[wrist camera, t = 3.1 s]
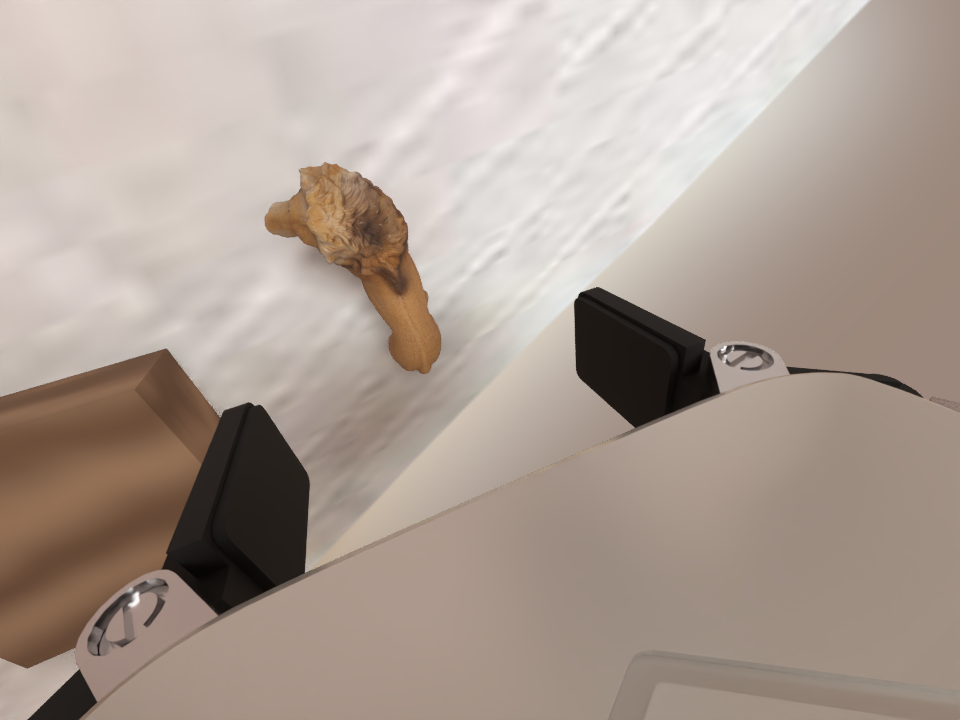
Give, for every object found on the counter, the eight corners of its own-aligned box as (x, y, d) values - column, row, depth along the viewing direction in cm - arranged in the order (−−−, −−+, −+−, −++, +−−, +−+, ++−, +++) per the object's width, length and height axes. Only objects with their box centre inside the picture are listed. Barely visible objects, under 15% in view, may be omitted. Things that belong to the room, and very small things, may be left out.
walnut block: (-178, 446, 18) (-319, 530, 14) (168, 345, 22) (134, 389, 18) (70, 591, 27) (27, 668, 23) (289, 503, 31) (284, 556, 27)
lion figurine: (264, 188, 20) (232, 209, 12) (348, 138, 20) (364, 131, 13) (407, 370, 28) (438, 446, 21) (464, 333, 29) (513, 395, 21)
